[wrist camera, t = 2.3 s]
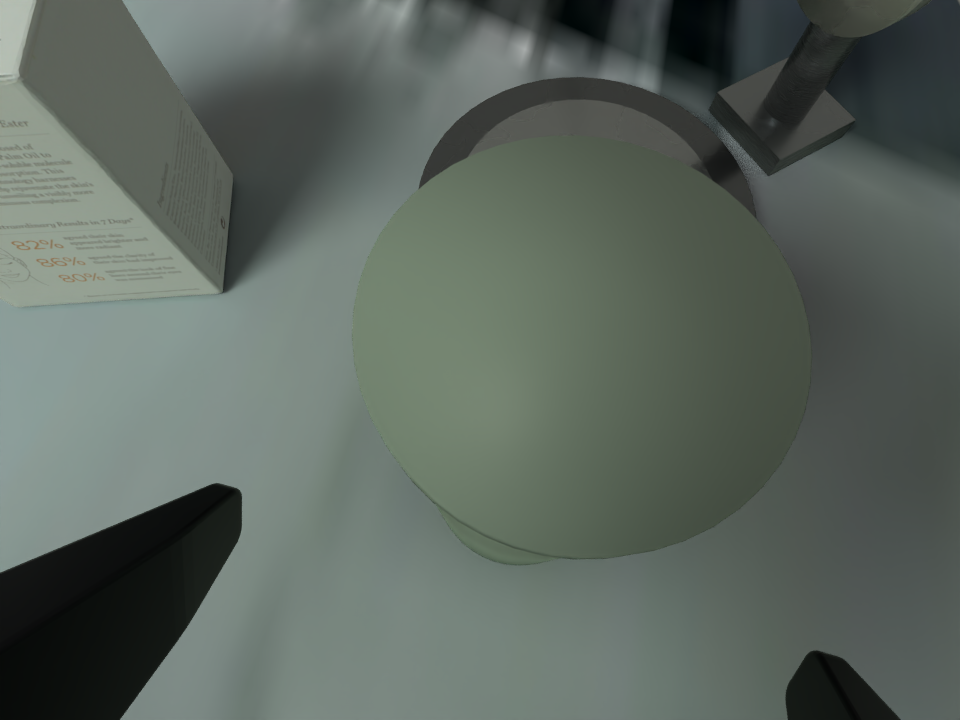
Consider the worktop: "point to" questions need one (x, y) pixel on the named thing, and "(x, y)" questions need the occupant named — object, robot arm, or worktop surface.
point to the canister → (580, 349)
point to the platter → (591, 126)
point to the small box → (101, 164)
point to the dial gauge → (803, 84)
